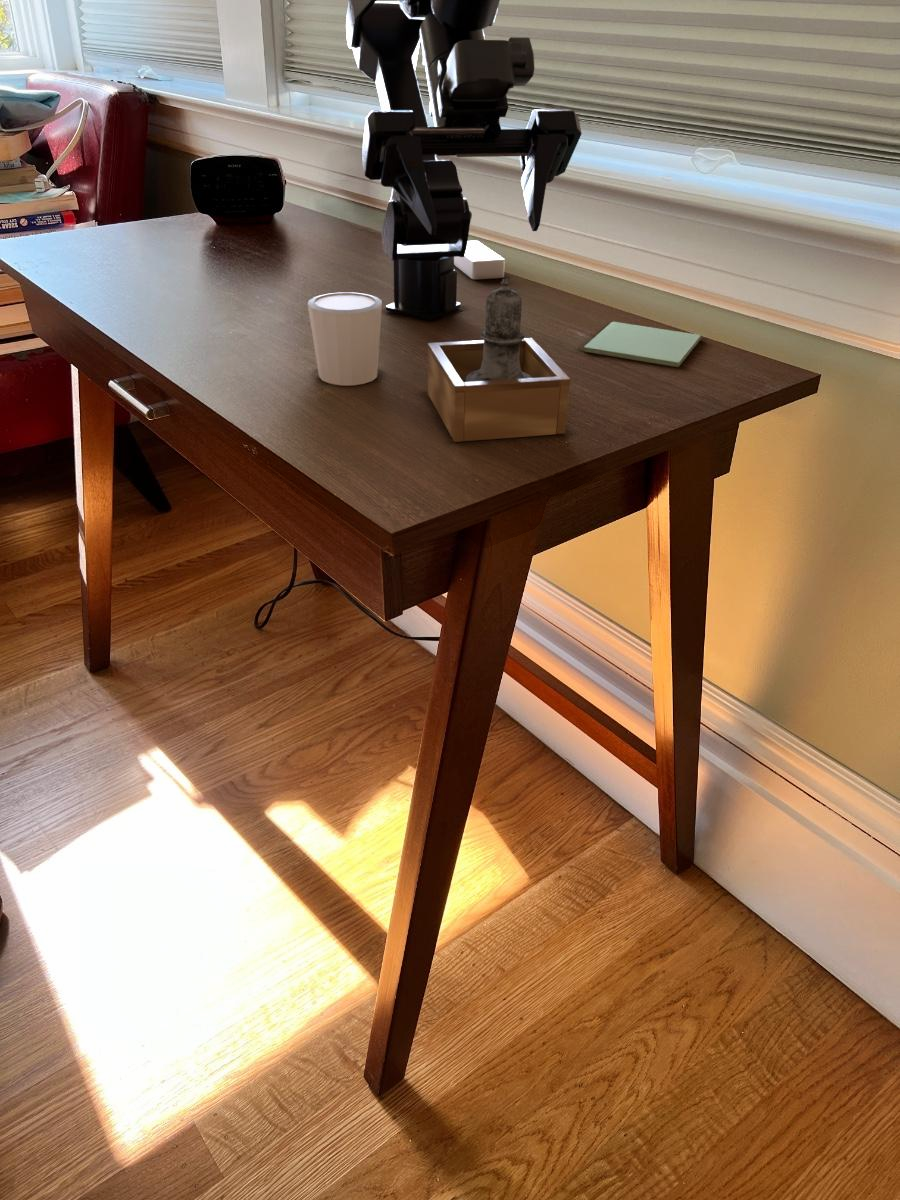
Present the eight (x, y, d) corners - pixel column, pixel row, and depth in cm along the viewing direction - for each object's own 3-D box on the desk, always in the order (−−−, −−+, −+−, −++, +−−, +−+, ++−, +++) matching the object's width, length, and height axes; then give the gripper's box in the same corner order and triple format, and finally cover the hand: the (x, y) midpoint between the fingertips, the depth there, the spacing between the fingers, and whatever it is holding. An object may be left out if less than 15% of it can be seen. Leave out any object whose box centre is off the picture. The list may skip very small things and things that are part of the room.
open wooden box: (427, 394, 83) (427, 342, 80) (528, 387, 85) (531, 337, 82) (453, 442, 74) (454, 386, 72) (565, 434, 76) (571, 379, 74)
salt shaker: (527, 436, 76) (537, 290, 69) (458, 429, 77) (461, 284, 70) (535, 410, 80) (546, 271, 74) (470, 404, 81) (475, 266, 75)
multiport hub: (473, 279, 117) (473, 261, 115) (447, 259, 125) (447, 241, 124) (505, 277, 118) (506, 259, 116) (477, 257, 126) (477, 240, 125)
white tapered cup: (355, 393, 83) (352, 316, 79) (297, 378, 86) (291, 303, 82) (398, 371, 88) (397, 298, 84) (341, 358, 91) (338, 286, 87)
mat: (583, 351, 94) (583, 346, 94) (611, 325, 101) (612, 321, 101) (678, 367, 90) (679, 362, 90) (700, 339, 98) (701, 334, 98)
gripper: (362, -5, 71) (388, 170, 69) (585, -1, 75) (619, 165, 72) (352, 99, 82) (375, 254, 79) (548, 98, 86) (576, 247, 83)
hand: (485, 230), depth 78 cm, fingers open, 9 cm apart
